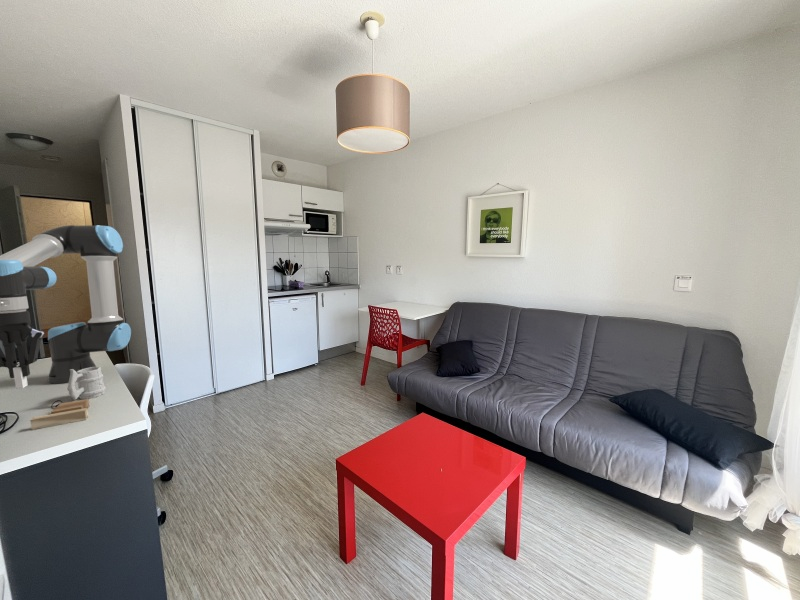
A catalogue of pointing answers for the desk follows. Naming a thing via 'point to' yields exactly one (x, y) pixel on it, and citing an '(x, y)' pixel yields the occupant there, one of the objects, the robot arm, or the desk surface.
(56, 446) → the desk surface
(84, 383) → the mug
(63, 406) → the slab
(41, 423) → the rail
